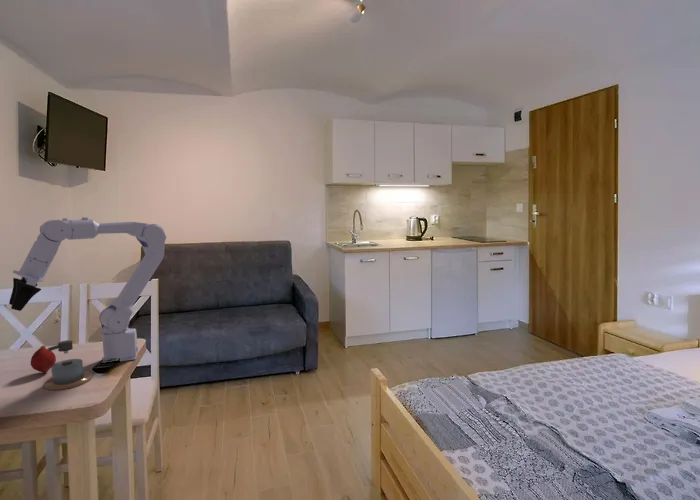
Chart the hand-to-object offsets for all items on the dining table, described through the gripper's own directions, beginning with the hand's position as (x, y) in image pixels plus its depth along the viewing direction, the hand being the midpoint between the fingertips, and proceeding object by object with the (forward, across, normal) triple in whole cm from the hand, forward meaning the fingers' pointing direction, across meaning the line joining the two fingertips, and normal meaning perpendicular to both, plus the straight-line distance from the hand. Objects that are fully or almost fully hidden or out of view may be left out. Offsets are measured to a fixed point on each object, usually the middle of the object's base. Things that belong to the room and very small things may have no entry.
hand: (14, 307), depth 112 cm
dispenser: (+14, +9, +18) cm, 24 cm away
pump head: (+8, +9, +13) cm, 18 cm away
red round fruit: (+16, -3, +14) cm, 22 cm away
